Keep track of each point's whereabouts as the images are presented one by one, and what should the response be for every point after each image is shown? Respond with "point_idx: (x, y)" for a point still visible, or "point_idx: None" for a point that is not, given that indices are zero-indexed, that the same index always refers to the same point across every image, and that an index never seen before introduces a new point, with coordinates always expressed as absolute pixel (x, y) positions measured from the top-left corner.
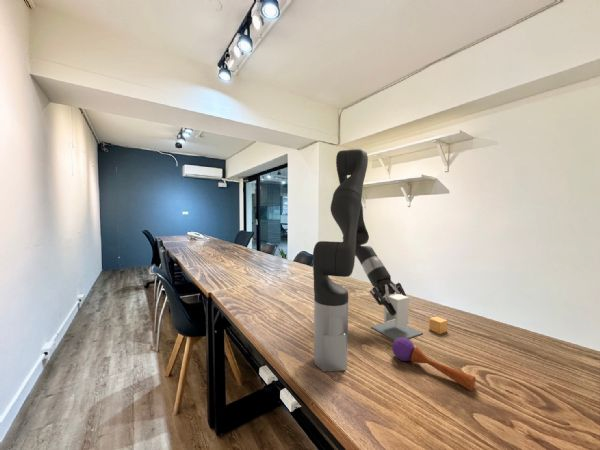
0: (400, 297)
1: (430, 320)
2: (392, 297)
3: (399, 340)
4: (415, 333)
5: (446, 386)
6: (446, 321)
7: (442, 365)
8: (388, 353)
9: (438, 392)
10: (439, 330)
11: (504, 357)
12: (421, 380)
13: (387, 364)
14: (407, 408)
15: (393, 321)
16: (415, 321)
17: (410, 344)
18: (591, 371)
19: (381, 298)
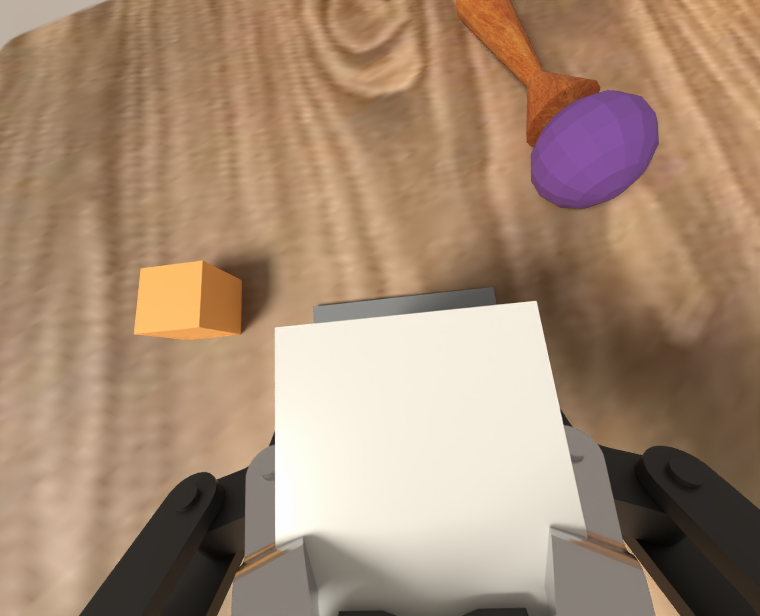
0: (403, 376)
1: (207, 322)
2: (538, 437)
3: (650, 118)
4: (350, 314)
5: (534, 40)
6: (153, 269)
7: (520, 30)
8: (601, 231)
9: (581, 28)
10: (232, 278)
11: (217, 93)
12: (591, 75)
13: (657, 172)
14: (726, 3)
15: None
16: (219, 436)
17: (598, 93)
18: (108, 3)
19: (756, 521)
